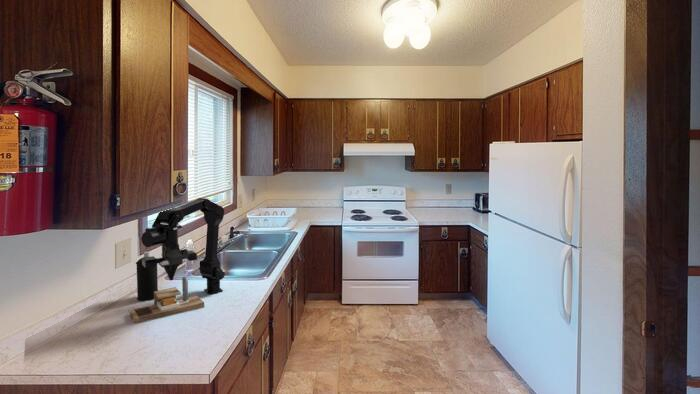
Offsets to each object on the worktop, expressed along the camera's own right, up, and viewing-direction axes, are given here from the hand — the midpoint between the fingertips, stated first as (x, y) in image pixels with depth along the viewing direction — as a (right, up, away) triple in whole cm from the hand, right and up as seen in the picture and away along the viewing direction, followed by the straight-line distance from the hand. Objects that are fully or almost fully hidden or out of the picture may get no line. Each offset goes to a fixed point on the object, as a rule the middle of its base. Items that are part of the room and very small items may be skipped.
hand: (171, 280), depth 142 cm
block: (-2, -11, +1) cm, 11 cm away
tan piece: (-2, -13, +1) cm, 13 cm away
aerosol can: (-17, -11, +14) cm, 25 cm away
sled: (0, -10, +2) cm, 11 cm away
